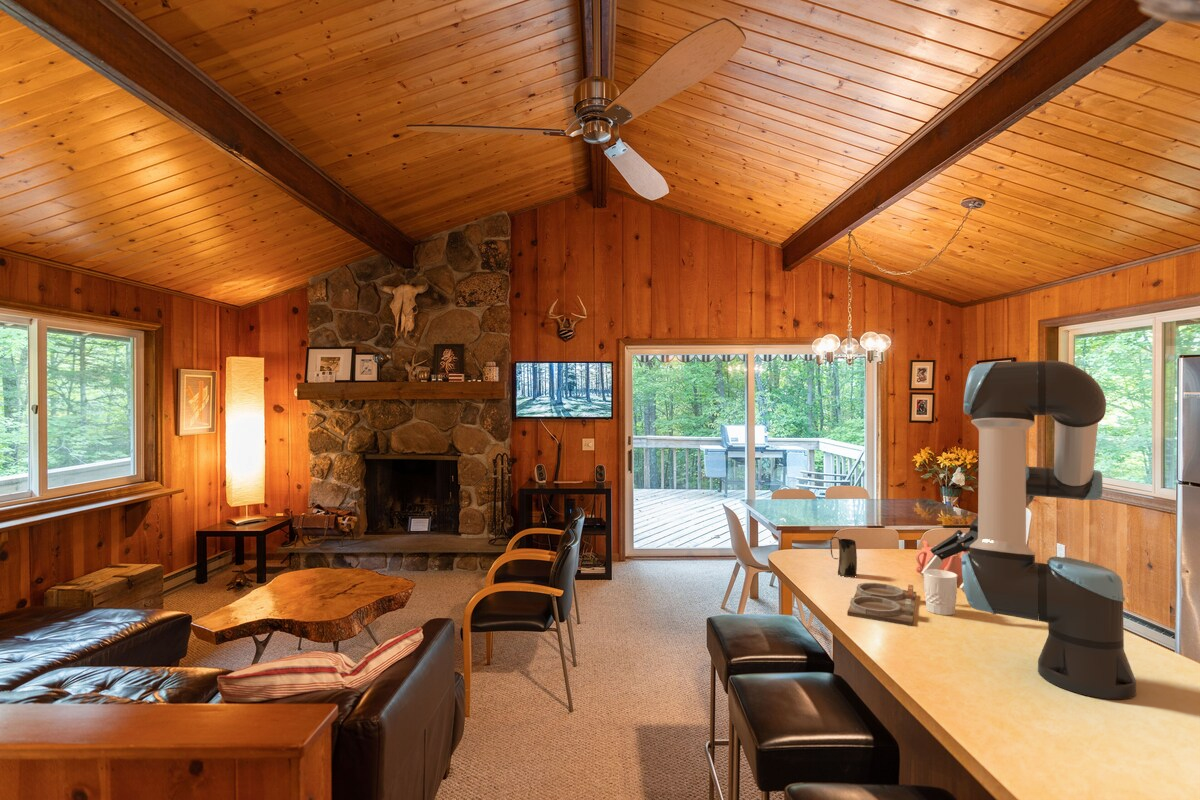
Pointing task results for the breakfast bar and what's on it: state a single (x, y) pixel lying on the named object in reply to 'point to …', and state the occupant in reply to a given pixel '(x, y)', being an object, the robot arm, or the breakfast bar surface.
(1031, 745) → the breakfast bar surface
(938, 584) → the white cup
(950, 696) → the breakfast bar surface
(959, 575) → the teapot
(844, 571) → the mug
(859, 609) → the board
